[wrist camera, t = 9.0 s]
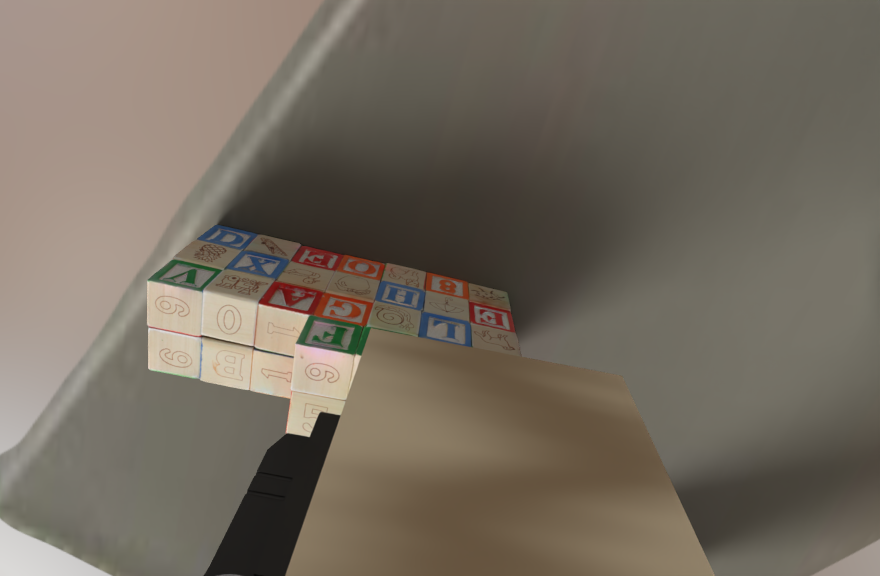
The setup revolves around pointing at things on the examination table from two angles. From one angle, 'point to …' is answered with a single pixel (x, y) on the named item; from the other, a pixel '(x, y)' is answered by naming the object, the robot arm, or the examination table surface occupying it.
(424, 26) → the examination table surface
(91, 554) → the examination table surface
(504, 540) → the birch block
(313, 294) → the stack of blocks
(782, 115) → the examination table surface
